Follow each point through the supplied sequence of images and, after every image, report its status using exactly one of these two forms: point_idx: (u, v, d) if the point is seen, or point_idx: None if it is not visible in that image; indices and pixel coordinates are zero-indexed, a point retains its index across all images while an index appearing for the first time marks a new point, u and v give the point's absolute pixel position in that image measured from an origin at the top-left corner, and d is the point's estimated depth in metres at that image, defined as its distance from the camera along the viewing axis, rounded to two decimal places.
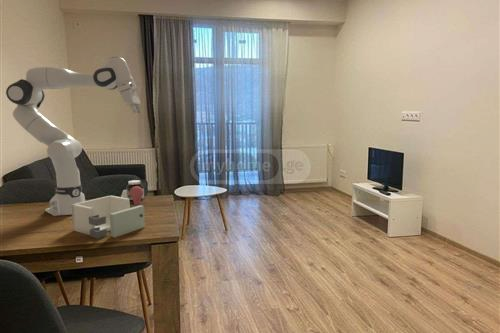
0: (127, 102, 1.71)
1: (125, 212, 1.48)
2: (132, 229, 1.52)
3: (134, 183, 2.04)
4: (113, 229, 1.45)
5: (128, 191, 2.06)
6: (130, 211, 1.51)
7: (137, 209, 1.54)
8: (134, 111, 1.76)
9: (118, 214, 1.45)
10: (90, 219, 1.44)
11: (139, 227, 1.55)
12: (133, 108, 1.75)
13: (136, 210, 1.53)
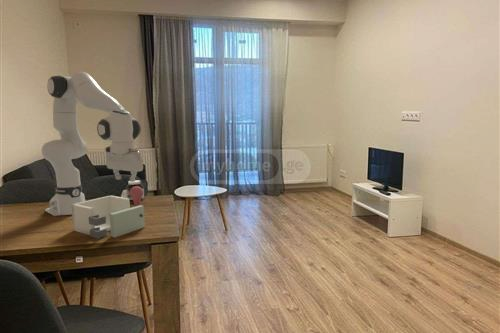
0: None
1: (125, 212, 1.48)
2: (132, 229, 1.52)
3: (134, 183, 2.04)
4: (112, 229, 1.45)
5: (128, 191, 2.06)
6: (130, 211, 1.51)
7: (137, 209, 1.54)
8: None
9: (118, 214, 1.46)
10: (90, 219, 1.44)
11: (139, 227, 1.55)
12: None
13: (136, 210, 1.53)
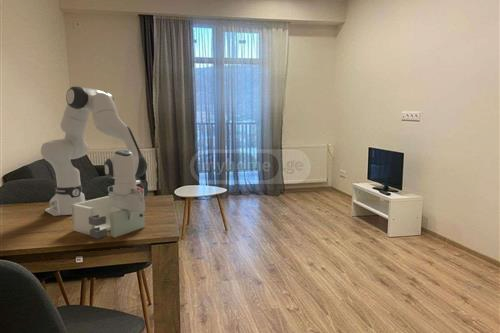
0: None
1: (125, 212, 1.48)
2: (132, 229, 1.52)
3: None
4: (112, 229, 1.45)
5: None
6: None
7: None
8: None
9: (118, 214, 1.45)
10: (90, 219, 1.44)
11: (139, 227, 1.55)
12: None
13: None
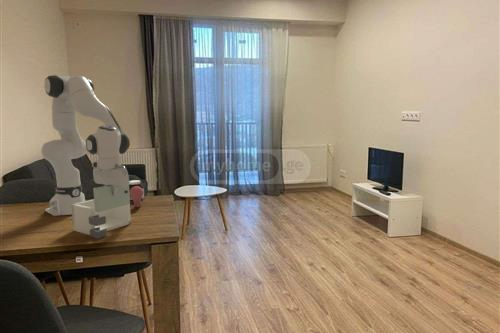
0: None
1: (109, 187, 1.48)
2: (117, 205, 1.52)
3: (134, 183, 2.04)
4: (96, 204, 1.45)
5: None
6: None
7: None
8: None
9: (102, 189, 1.45)
10: (90, 219, 1.44)
11: (124, 203, 1.55)
12: None
13: None
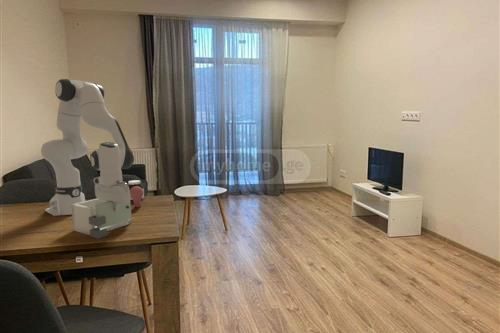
0: None
1: (111, 203, 1.49)
2: (118, 220, 1.53)
3: (134, 183, 2.04)
4: None
5: None
6: None
7: None
8: None
9: (103, 205, 1.46)
10: (90, 219, 1.44)
11: (125, 218, 1.56)
12: None
13: None
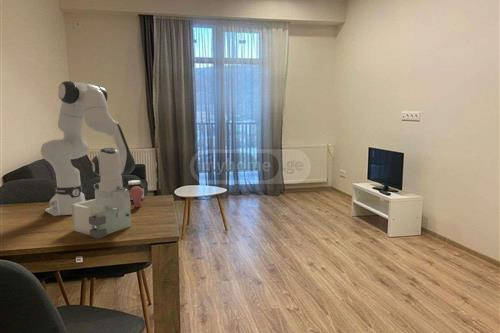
0: None
1: (111, 211, 1.50)
2: (118, 228, 1.54)
3: (134, 183, 2.04)
4: (98, 228, 1.46)
5: (128, 191, 2.06)
6: (116, 210, 1.52)
7: None
8: None
9: (104, 213, 1.47)
10: (90, 219, 1.44)
11: (125, 226, 1.57)
12: None
13: None
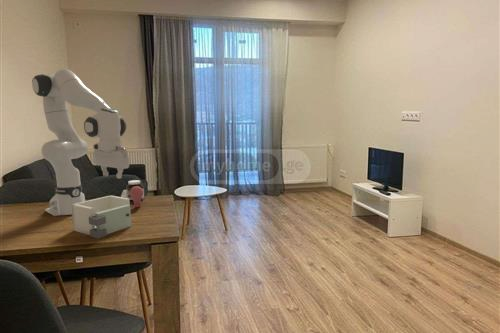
0: None
1: (111, 211, 1.50)
2: (118, 228, 1.54)
3: (134, 183, 2.04)
4: (98, 228, 1.46)
5: (128, 191, 2.06)
6: (116, 210, 1.52)
7: (123, 208, 1.55)
8: None
9: (104, 213, 1.47)
10: (90, 219, 1.44)
11: (125, 226, 1.57)
12: None
13: (122, 209, 1.55)
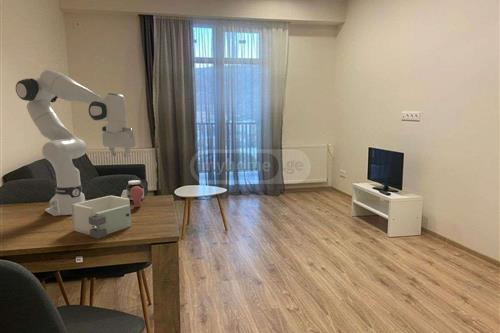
0: None
1: (111, 211, 1.50)
2: (118, 228, 1.54)
3: (134, 183, 2.04)
4: (98, 228, 1.46)
5: (128, 191, 2.06)
6: (116, 210, 1.52)
7: (123, 208, 1.55)
8: None
9: (104, 213, 1.47)
10: (90, 219, 1.44)
11: (125, 226, 1.57)
12: None
13: (122, 209, 1.55)
